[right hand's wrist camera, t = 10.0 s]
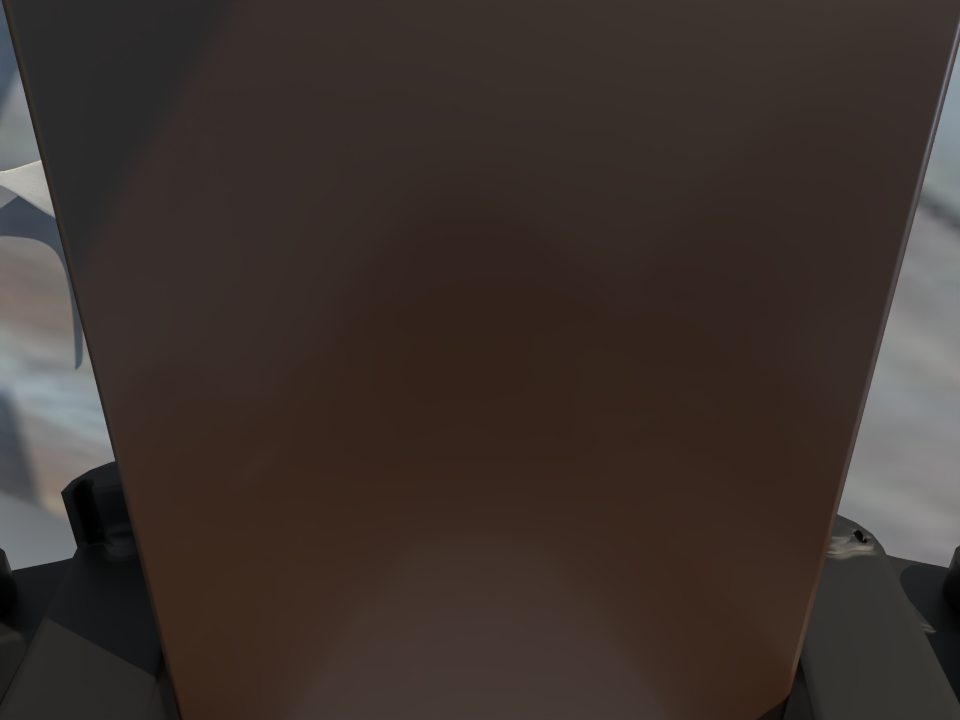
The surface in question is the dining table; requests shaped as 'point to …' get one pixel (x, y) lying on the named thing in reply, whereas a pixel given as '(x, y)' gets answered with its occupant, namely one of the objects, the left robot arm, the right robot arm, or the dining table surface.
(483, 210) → the walnut box
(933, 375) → the dining table surface
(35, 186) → the fork
